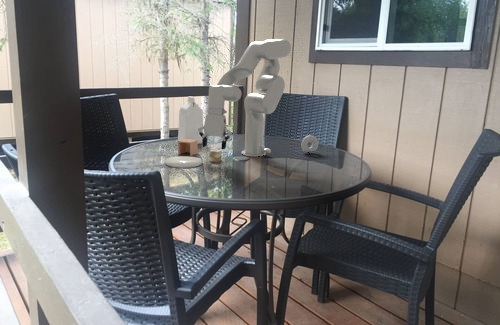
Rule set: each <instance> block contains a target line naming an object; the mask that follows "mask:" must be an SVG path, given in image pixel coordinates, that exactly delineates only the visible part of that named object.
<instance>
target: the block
mask: <svg viewBox="0 0 500 325" xmlns="http://www.w3.org/2000/svg"><path fill="white" fill-rule="evenodd" d="M222 150H223V149H221V150H220V149H211V150H209V151H208V152H209V159H208V160H209V161H208V162H212V163H213V162H214V163H219V162H221V161H222Z"/></svg>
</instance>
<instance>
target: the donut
mask: <svg viewBox="0 0 500 325" xmlns="http://www.w3.org/2000/svg"><path fill="white" fill-rule="evenodd" d="M309 142H310V143H311V145H310V146H308V144H309ZM300 143H301V144H300V146H301V150H302V151H303V152H304V151H306V152H309V151H315V152H316V151H317V149H318V148H319V140H318V138H317V137H316V136H315V135H311V134H310V135H309V134H308V135H306V136H305V137H304V138H302V141H301V142H300Z"/></svg>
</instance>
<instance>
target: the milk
mask: <svg viewBox="0 0 500 325" xmlns="http://www.w3.org/2000/svg"><path fill="white" fill-rule="evenodd" d="M203 126H204V110H203V109H202V108H201V107H200V105H199V104H198V103H197V102H195V97H194V96H187V101H186V102H185V103H184V104H183V105H182V106H181V107H180V109H179V114H178V131H177V132H178V134H177V142H178V141H180V140H183V139H192V140H198V142H197V145H198V144H202V139H203V138H202V137H201V136H200V134H199V131H198V128H201V127H203ZM202 132H203V133H204V129H203V130H202Z"/></svg>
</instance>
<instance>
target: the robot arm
mask: <svg viewBox="0 0 500 325" xmlns="http://www.w3.org/2000/svg"><path fill="white" fill-rule="evenodd" d="M291 51H292V44H291V42H290V41H289V40H287V39H284V38H281V39H280V38H273V39H272V38H269V39H268V38H267V39H265V40H264V41H262V40H261V41H257V40H256V41H253V42H251V43H249V45H248V46H247V48H246V49H245V51H244V52H243V54H242V56H241V57H240V59H239V61H238V62H237V63H236V65H234V66H233V67H231V68H230V69H229V70H227V71H226V73H224V74H223V75H222V76H221V78H220V79H219V80H218V83H217V84H212V85H209V87H208V102H207V103H208V104H207V113H206V115H205V119H204V123H203V127H201V128H198V131H199V134H200V136H201V137H202V138H203V139H202V143H201V144H202V147H203V148H205V147H208V136H210V137H219V138H221V140H222V141H221V148H220V149H221V150H225V149H226V147H227V141H228V140H229V139H230V138H231V136H232V135H233V132H232V131H231V130H229V129H228V128H227V117H226V115H225V114H227V110H225V101H226V102H230V103H231V102H237V101H239V100H240V99H241V97H242V95H243V94H242V90H241V88H239V87H238V86H236V85H234V84H236V83H237V82H239V81H241V80H243V79H246V78H247V77H250V76H251V75H252V74H253V73H254V71H255V70H256V68H257V66H258V65H259V63H260V61H261V60H263V61H264V62H263V66H262V68H261V71H260V72H259V75H258V78H257V79H256V81H255V85H254V86H255V90H257V92H251V93H249V94H246V96H245V98H244V101H243V102H244V104H243V105H244V110H245V112H244V113H245V133H244V150H242V151H241V155H242V154H243V155H242V156H245V157H251V158H252V157H253V158H255V157H257V158H258V156H260V157H264V156H266V154H270V153H271V152H272V150H271V149H270V148H266V146H265V145H264V133H265V117H264V115H270V114H272V113H274V112H275V110H276V109H277V107H278V104H279V102H280V100H281V97H283V93H284V92H285V91H284V90H285V86H286V83H285V79H284V78H283V77H282V76H281V75H279V73H280V70H281V69H280V61H279V59H281V58H285V57H287V56H289V55H290V53H291ZM258 92H259V93H258ZM202 130H204V133H203V132H202ZM226 135H227V136H226ZM263 155H264V156H263Z"/></svg>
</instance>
